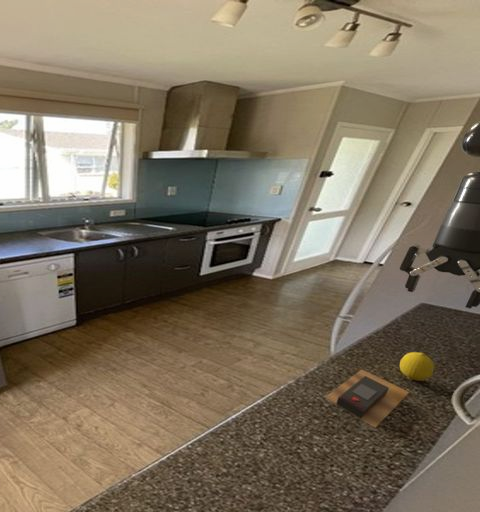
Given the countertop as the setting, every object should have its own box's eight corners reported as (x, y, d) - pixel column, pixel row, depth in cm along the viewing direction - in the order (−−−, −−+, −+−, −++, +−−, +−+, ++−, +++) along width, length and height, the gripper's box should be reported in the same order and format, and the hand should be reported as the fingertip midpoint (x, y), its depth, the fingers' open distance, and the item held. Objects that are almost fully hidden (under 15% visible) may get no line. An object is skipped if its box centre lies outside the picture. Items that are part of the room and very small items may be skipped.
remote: (362, 382, 70) (365, 375, 70) (386, 394, 67) (389, 386, 66) (335, 404, 64) (338, 396, 63) (360, 418, 60) (363, 410, 60)
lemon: (430, 391, 69) (444, 363, 66) (399, 381, 71) (410, 355, 69) (421, 377, 73) (433, 351, 71) (392, 369, 76) (402, 343, 73)
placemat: (361, 370, 75) (361, 369, 75) (408, 393, 68) (409, 392, 68) (324, 398, 66) (324, 397, 66) (374, 429, 58) (375, 427, 58)
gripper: (413, 220, 61) (387, 289, 66) (529, 235, 49) (487, 318, 54) (425, 218, 65) (399, 283, 70) (535, 231, 53) (495, 309, 58)
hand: (438, 298), depth 62 cm, fingers open, 8 cm apart
